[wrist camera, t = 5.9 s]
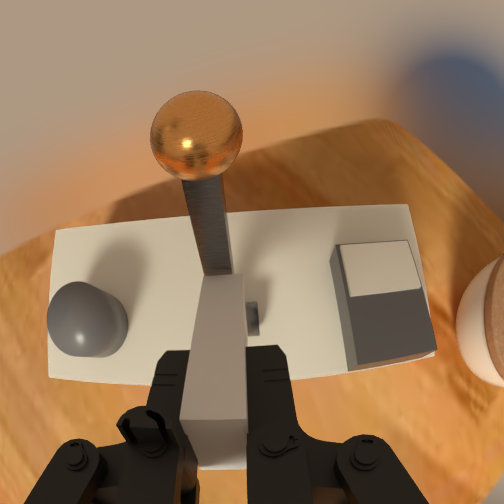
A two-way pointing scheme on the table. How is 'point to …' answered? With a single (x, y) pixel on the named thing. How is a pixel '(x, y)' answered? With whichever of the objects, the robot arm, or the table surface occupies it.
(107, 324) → the button
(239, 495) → the table surface
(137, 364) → the console
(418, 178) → the table surface
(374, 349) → the block
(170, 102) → the lever
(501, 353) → the lidded jar
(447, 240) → the table surface
